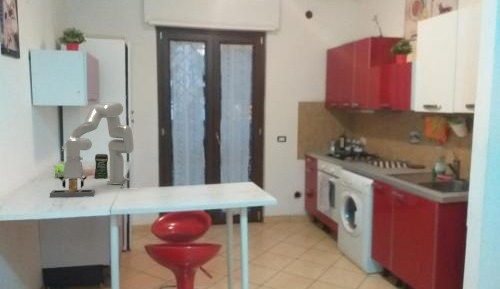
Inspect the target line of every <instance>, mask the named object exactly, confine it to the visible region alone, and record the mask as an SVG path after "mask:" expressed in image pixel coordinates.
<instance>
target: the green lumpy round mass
mask: <svg viewBox="0 0 500 289" xmlns="http://www.w3.org/2000/svg"><path fill="white" fill-rule="evenodd" d="M64 165H65V162H62V163H60V164H57V165H53V168H54V177H57V179H59V177H58V175H57V174H59V173H61V172H63V171H64ZM61 177H62V178H64V174H61Z"/></svg>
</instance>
